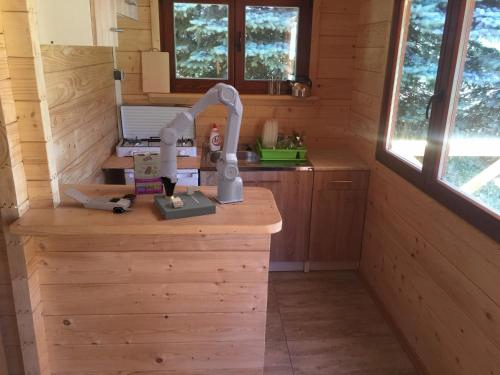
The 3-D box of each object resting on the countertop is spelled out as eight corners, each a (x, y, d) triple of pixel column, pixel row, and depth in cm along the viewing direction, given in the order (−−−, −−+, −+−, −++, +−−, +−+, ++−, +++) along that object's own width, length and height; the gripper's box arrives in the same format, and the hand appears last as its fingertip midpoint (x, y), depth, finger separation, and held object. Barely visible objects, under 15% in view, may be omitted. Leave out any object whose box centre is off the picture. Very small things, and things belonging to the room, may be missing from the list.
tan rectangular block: (192, 192, 160) (192, 185, 159) (194, 194, 159) (194, 186, 158) (186, 193, 159) (186, 185, 158) (187, 194, 158) (187, 187, 157)
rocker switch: (179, 199, 150) (179, 196, 149) (183, 206, 146) (183, 203, 145) (170, 200, 148) (170, 197, 148) (174, 207, 144) (174, 204, 144)
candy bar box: (162, 189, 173) (161, 150, 168) (163, 193, 169) (162, 153, 164) (134, 190, 170) (132, 151, 165) (134, 194, 166) (132, 154, 161)
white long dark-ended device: (70, 186, 155) (135, 191, 152) (72, 201, 157) (136, 206, 154) (61, 192, 149) (129, 197, 146) (63, 207, 151) (130, 212, 148)
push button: (173, 201, 159) (173, 193, 158) (175, 204, 156) (175, 196, 155) (163, 202, 157) (163, 194, 156) (166, 205, 154) (166, 197, 153)
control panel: (199, 197, 166) (199, 185, 164) (215, 213, 150) (215, 200, 149) (153, 202, 158) (153, 190, 157) (166, 220, 143) (165, 206, 141)
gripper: (153, 156, 156) (154, 190, 160) (162, 166, 144) (163, 203, 148) (171, 155, 159) (172, 189, 163) (182, 164, 146) (183, 201, 151)
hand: (169, 195), depth 156 cm, fingers closed, pressing on push button
